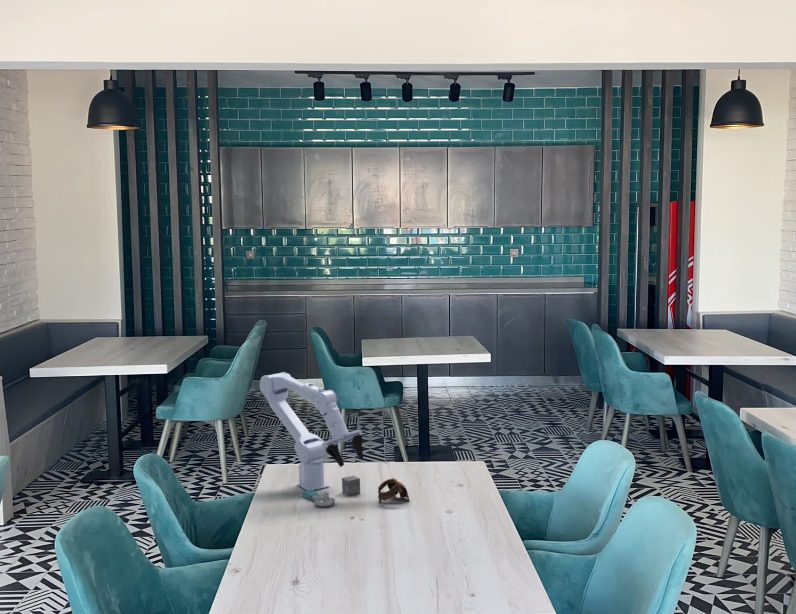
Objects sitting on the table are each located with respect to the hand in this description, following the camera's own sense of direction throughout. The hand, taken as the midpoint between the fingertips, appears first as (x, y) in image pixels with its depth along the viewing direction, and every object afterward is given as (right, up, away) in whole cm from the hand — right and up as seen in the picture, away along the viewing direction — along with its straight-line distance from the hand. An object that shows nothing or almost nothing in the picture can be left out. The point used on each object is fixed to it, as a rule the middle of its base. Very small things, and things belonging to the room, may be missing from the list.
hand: (352, 462), depth 276 cm
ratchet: (-11, -12, -3) cm, 17 cm away
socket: (-1, -11, +5) cm, 12 cm away
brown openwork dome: (+14, -12, -4) cm, 19 cm away
